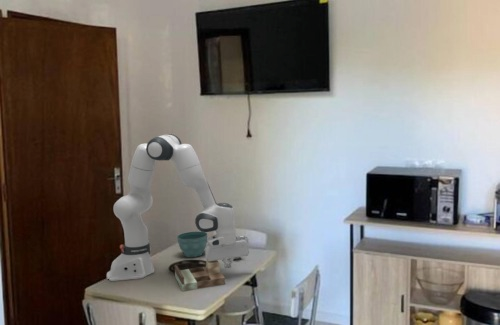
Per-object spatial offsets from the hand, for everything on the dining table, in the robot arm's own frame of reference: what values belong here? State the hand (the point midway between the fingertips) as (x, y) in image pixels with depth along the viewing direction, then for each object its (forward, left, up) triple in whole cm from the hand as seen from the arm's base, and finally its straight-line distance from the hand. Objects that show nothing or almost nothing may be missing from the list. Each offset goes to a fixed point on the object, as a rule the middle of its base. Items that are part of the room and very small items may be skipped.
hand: (228, 267), depth 232 cm
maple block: (-7, 0, -1) cm, 7 cm away
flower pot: (-8, +40, -4) cm, 41 cm away
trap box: (-14, 0, -4) cm, 14 cm away
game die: (+10, +22, -4) cm, 25 cm away
